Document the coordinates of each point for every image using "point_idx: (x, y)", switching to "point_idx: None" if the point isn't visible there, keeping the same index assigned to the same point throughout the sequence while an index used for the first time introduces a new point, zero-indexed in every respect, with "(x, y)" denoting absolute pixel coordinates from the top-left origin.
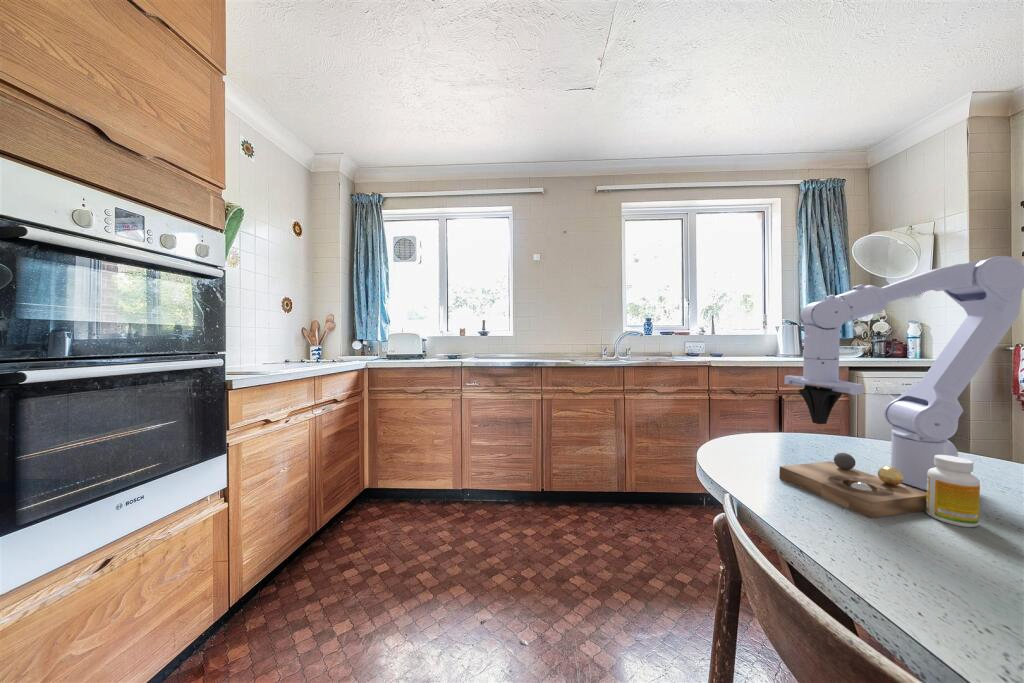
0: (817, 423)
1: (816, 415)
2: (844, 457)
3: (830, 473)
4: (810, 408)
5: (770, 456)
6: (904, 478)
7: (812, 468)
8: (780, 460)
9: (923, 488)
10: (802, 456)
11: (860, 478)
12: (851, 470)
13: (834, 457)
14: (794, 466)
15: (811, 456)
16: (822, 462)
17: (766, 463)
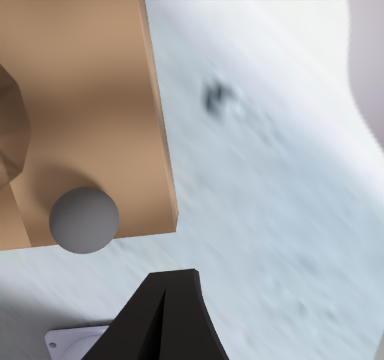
0: (155, 273)
1: (136, 308)
2: (55, 211)
3: (51, 117)
4: (192, 352)
5: (365, 142)
6: (91, 339)
7: (101, 91)
8: (317, 145)
9: (51, 331)
10: (334, 256)
11: (10, 181)
12: None
13: (97, 199)
14: (125, 29)
15: (327, 283)
16: (165, 191)
17: (300, 58)
